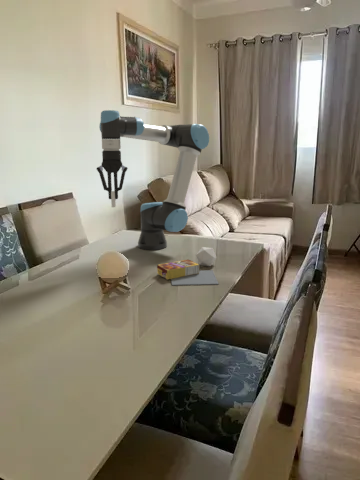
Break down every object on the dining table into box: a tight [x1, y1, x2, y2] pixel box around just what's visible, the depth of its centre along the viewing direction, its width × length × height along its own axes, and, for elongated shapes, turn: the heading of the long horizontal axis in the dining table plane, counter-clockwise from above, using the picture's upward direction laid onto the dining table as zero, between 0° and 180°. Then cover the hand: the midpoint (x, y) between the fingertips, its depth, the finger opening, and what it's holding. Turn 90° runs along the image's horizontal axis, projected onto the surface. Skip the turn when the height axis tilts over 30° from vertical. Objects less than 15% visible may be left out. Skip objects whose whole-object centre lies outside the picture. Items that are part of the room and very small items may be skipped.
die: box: [195, 246, 217, 267], centre depth 172 cm, size 8×9×10 cm
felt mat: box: [170, 269, 219, 286], centre depth 156 cm, size 16×18×1 cm
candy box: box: [156, 258, 200, 280], centre depth 160 cm, size 9×4×15 cm
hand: (113, 206), depth 165 cm, fingers closed
